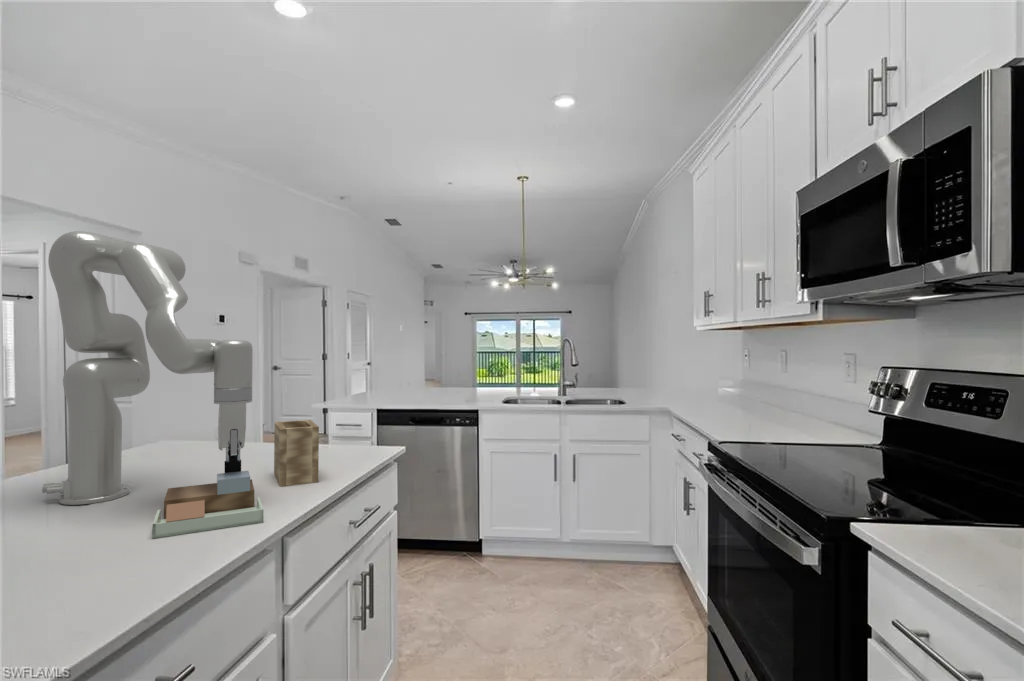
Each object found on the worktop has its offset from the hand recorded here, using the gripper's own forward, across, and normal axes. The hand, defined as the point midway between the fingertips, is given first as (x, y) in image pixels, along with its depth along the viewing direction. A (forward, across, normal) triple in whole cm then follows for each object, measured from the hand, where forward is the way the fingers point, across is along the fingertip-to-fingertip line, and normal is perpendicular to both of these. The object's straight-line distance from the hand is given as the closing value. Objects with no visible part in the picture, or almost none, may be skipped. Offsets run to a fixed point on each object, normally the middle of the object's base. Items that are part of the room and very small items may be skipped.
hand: (232, 478), depth 115 cm
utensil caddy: (+5, -15, +15) cm, 22 cm away
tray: (+5, +13, -4) cm, 14 cm away
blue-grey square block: (+1, +5, 0) cm, 5 cm away
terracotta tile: (+1, +14, -8) cm, 16 cm away
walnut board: (+5, +2, -4) cm, 7 cm away
